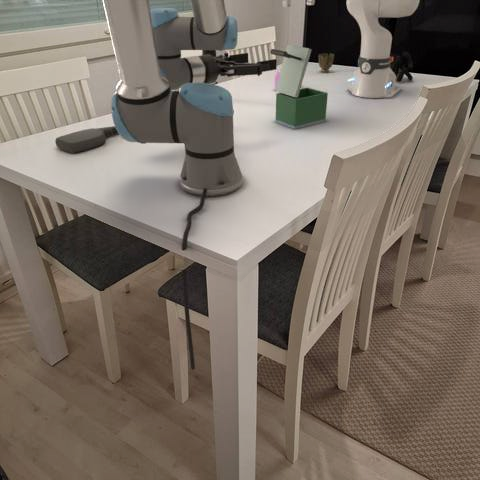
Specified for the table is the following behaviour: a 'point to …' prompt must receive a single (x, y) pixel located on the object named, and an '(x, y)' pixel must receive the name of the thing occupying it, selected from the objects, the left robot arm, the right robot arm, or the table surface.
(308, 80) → the table surface
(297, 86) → the lid
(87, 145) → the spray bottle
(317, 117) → the chest
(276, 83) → the bracket
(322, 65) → the cup
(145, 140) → the left robot arm
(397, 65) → the squiggle
